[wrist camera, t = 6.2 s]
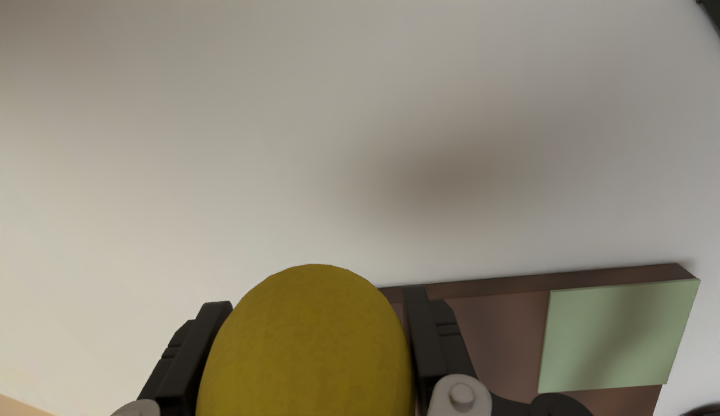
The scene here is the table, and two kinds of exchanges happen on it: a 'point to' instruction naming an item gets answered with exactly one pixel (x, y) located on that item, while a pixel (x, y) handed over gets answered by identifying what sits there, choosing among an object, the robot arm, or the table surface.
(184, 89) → the table surface
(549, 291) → the board
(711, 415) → the race car
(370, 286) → the lemon
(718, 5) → the eiffel tower souvenir
